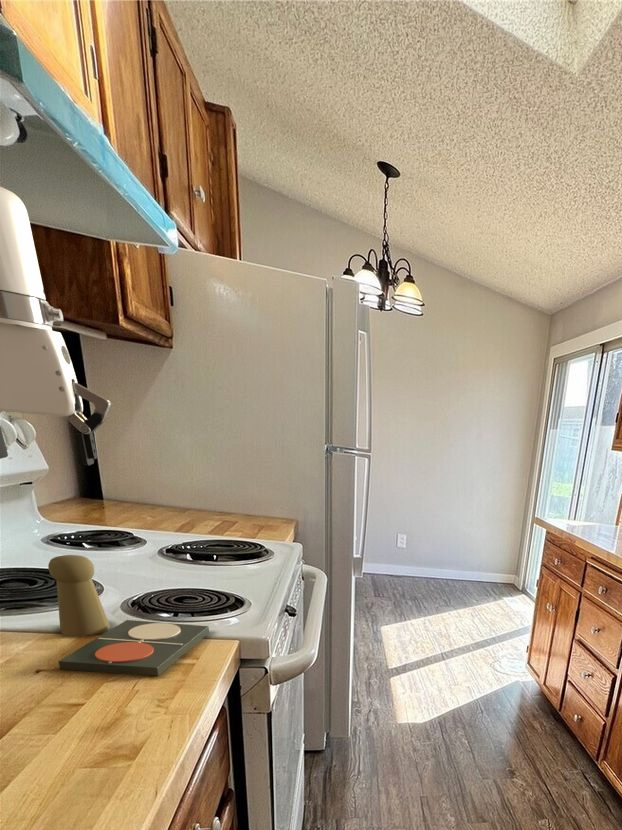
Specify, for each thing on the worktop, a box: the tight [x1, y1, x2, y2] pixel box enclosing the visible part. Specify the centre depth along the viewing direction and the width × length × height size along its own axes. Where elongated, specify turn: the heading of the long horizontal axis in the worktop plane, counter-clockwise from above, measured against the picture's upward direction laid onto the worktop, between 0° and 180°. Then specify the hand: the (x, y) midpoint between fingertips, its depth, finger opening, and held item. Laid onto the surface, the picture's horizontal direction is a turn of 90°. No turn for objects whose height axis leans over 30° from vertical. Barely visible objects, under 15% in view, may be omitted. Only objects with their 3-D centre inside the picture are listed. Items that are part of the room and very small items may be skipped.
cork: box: [47, 554, 111, 637], centre depth 81 cm, size 6×6×11 cm
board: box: [57, 619, 210, 677], centre depth 79 cm, size 12×16×1 cm
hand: (45, 461), depth 75 cm, fingers open, 9 cm apart
